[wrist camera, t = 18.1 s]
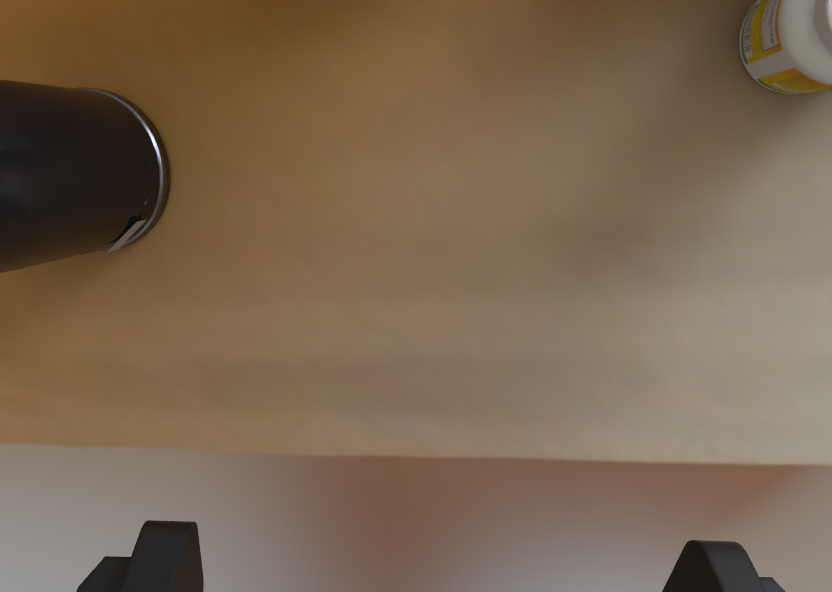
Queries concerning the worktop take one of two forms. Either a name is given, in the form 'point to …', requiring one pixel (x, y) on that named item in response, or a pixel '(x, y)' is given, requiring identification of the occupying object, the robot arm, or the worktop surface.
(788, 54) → the supplement bottle
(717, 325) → the worktop surface
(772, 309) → the worktop surface
